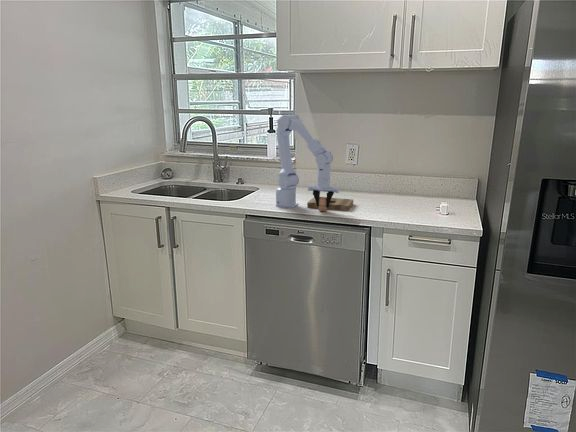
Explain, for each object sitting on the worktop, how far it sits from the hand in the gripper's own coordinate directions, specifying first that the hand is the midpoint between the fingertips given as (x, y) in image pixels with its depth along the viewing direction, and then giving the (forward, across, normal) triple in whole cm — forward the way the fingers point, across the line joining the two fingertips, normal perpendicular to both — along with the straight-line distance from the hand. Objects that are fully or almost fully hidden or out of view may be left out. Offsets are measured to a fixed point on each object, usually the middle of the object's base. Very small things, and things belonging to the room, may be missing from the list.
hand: (322, 206), depth 200 cm
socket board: (+2, +1, +12) cm, 12 cm away
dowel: (+2, 0, 0) cm, 2 cm away
